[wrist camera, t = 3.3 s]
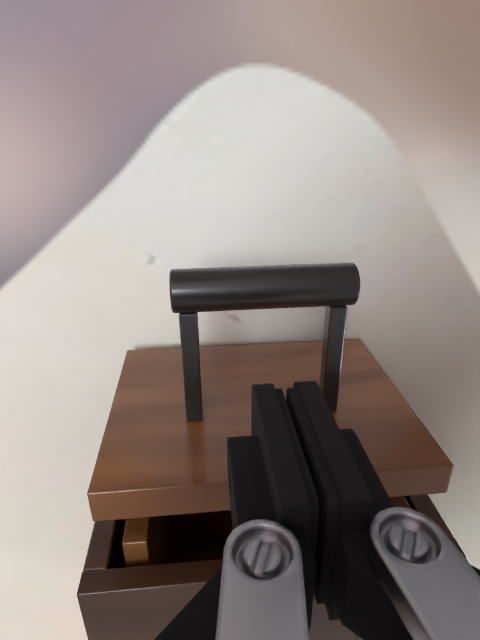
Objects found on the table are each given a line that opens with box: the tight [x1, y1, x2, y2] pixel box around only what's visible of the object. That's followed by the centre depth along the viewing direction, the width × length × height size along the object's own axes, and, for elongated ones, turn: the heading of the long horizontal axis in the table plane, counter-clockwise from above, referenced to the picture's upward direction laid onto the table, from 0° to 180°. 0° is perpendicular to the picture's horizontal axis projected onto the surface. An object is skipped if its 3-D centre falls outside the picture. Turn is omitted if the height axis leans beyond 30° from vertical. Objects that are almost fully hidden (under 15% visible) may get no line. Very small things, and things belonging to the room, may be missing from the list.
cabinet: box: [77, 494, 466, 640], centre depth 22 cm, size 15×13×11 cm
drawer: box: [87, 263, 453, 567], centre depth 19 cm, size 19×11×9 cm, turn 0°
